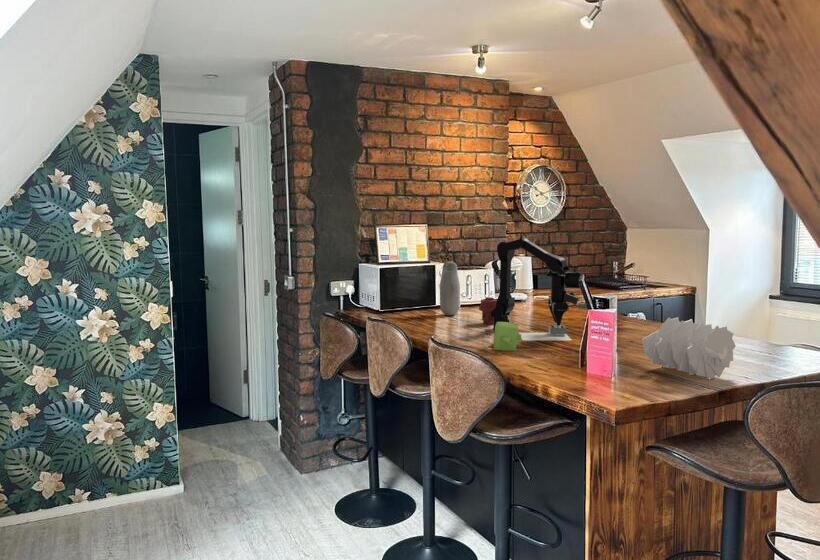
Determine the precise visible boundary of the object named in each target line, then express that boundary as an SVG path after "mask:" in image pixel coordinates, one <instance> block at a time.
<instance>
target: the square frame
mask: <svg viewBox="0 0 820 560" xmlns="http://www.w3.org/2000/svg"><path fill="white" fill-rule="evenodd" d="M547 331H548V333H550V334H567V327H566V326H565V325H561V328H554V324H553V325H548V330H547Z"/></svg>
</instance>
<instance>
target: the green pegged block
mask: <svg viewBox="0 0 820 560" xmlns="http://www.w3.org/2000/svg"><path fill="white" fill-rule="evenodd" d="M518 327H519V324H518V323H517V322H516V323H515V322H510V321H509V322H497V323H496V325H495V330H494V337H493V338H494V342H493V351H494V350H495V351H504V352H505V351H509V352H511V351H513V352H516V351H517V346H518V345H517V344H518V341H521V340H522V338H521V334H519V331H518Z"/></svg>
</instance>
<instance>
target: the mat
mask: <svg viewBox="0 0 820 560" xmlns="http://www.w3.org/2000/svg"><path fill="white" fill-rule="evenodd" d="M518 334H521V340H522V341H554V342H555V341H556V342H557V341H560V342H561V341H570V342H571V341H573V340H572V338H570V336H569V335H568V334H567V333H566V334H565V335H564V336H553V335H550V333H549V332H518Z"/></svg>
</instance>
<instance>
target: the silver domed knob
mask: <svg viewBox="0 0 820 560" xmlns="http://www.w3.org/2000/svg"><path fill="white" fill-rule="evenodd" d="M553 325H554V328H561V326H562V324H560V325H557V323H556V322H554V324H553ZM550 335H553V336H564V335H565V334H550Z"/></svg>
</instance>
